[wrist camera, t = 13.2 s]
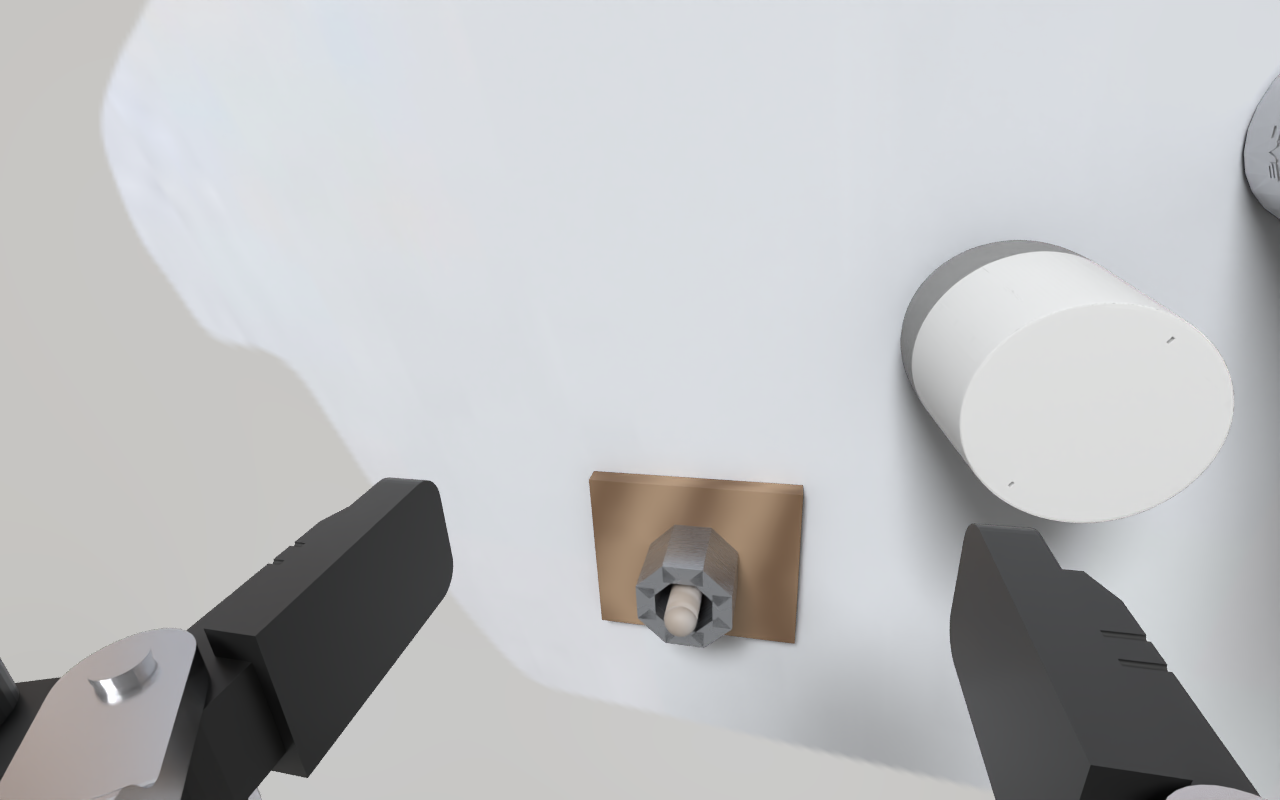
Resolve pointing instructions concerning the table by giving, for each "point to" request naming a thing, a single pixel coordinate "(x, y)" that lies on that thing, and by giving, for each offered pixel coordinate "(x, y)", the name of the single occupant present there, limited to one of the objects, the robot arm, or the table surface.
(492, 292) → the table surface
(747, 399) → the table surface
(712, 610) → the ring
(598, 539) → the post stand
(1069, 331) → the smart speaker
